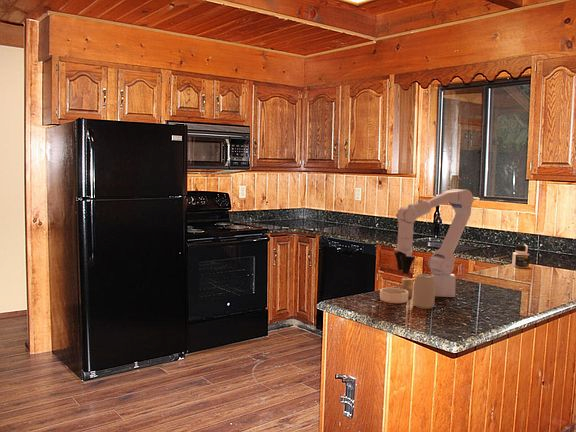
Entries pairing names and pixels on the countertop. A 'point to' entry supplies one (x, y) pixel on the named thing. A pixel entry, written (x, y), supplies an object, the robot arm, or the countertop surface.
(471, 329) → the countertop surface
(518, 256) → the medicine bottle
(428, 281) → the can
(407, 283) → the beige rectangular block
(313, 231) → the countertop surface
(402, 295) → the beige shallow bowl
